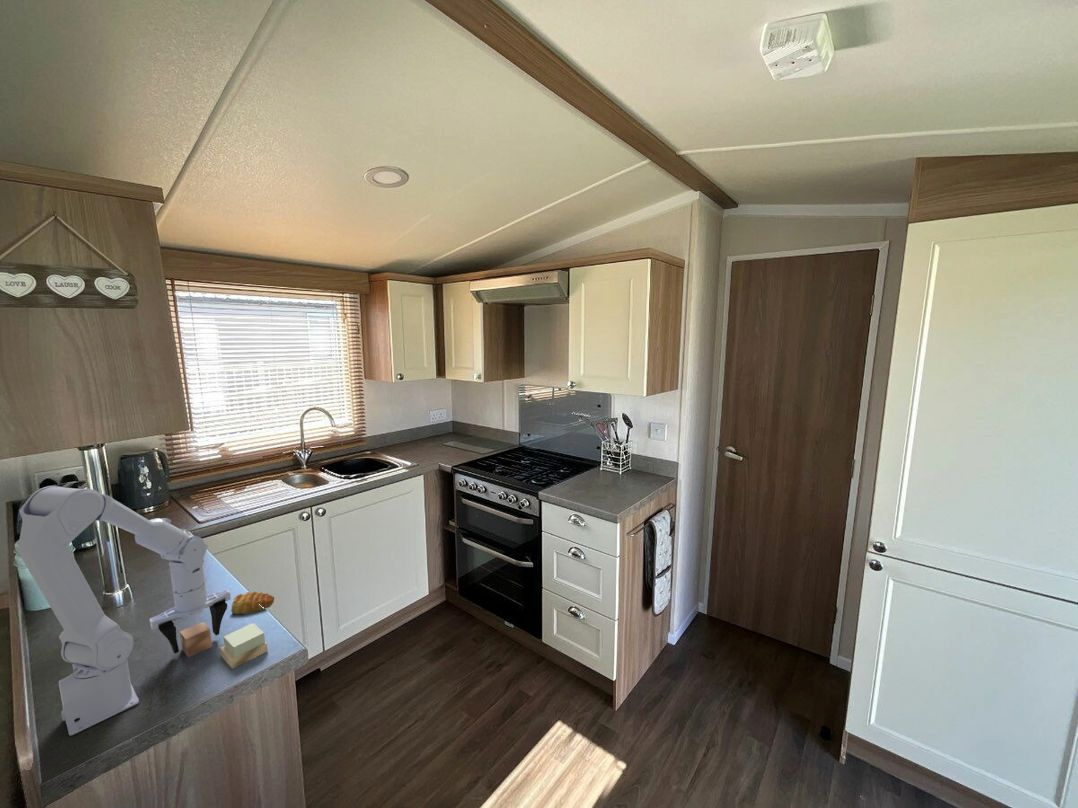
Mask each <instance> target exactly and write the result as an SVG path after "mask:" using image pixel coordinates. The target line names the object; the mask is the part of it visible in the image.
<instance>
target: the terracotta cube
mask: <svg viewBox="0 0 1078 808" xmlns="http://www.w3.org/2000/svg"><path fill="white" fill-rule="evenodd" d="M210 629H211V628H210V627H209V626H208V625H207V624H206V623H205V622H204V621H203V622H199V623H197V624H195V625H192V626H190V627H188V628H187V627H186V628H185V629H182V630H179V635H180V643H181V649H182V651H183V652H184V654H185V655H186V656H187V657H188V658H190V657H192V656H195V655H197V654H199V653H201V652H204V651H206V650H208V649H210V648H212V647H213V643H212V636H211V630H210Z"/></svg>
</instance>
